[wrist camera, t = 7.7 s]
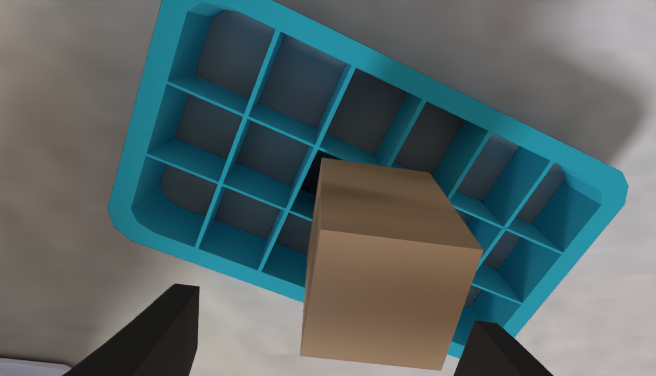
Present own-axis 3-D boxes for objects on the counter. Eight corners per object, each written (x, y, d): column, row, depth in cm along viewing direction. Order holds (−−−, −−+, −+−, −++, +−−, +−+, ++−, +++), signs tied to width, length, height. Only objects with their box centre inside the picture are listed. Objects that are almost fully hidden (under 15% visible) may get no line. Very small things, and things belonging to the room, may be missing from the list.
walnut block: (405, 263, 18) (441, 370, 12) (307, 251, 18) (300, 355, 12) (429, 172, 16) (483, 250, 11) (321, 157, 16) (320, 229, 10)
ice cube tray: (469, 327, 23) (488, 368, 21) (132, 201, 20) (102, 230, 17) (598, 159, 19) (643, 182, 17) (200, -36, 16) (174, -48, 13)
